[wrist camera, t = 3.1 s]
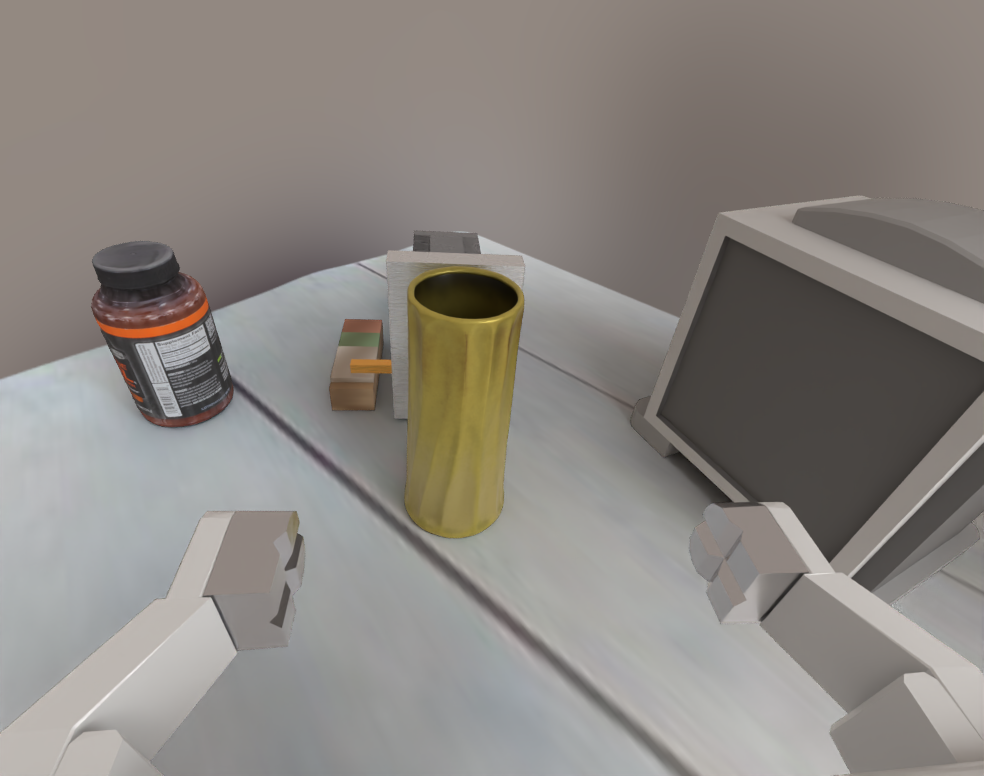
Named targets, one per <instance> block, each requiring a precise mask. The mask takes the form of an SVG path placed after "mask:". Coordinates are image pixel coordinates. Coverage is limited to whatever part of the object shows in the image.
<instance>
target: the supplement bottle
mask: <svg viewBox="0 0 984 776" xmlns="http://www.w3.org/2000/svg"><path fill="white" fill-rule="evenodd" d="M92 263H93V266H94V268H95V271H96V274H97V276H98V280H99V281H100V283H101V288H100V289H99V290H97V292H96V293H95V294H94V297H93V299H92V303H91V304H92V305H91V308H92V311H93V314H94V316H95V318H96V321H97V323H98V324H99V326H100V328H101V332H102V334H103V336H104V338H105V340H106V342H107V344H108V346H109V349H110V351H111V352H112V354H113V356H114V359H115V360H116V363H117V364H118V367H119V369H120V371H121V373H122V375H123V377H124V380H125V382H126V384H127V386H128V388H129V390H130V392H131V394H132V397H133V399H134V401H135V403H136V405H137V407H138V408H139V410H140V411H141V413H142V415H143V416H144V417H145V418H146V419H147V420H148V421H150V422H152V423H154V424H156V425H159V426H166V427H184V426H190V425H194V424H198V423H200V422H203V421H206V420H208V419H211V418H212V417H214V416H215V415H217V414H218V413H220V412H222V410H224V409H225V407H226V406H227V405H228V404H229V403H230V401H231V399H232V396H233V385H232V379H231V376H230V373H229V370H228V366H227V363H226V360H225V357H224V353H223V350H222V346H221V343H220V340H219V336H218V333H217V330H216V327H215V323H214V320H213V317H212V314H211V310H210V307H209V304H208V301H207V298H206V295H205V293H204V291H203V288H202V286H201V285H200V284H199V283H198V282H197V281H196V280H195V279H194V278H192V277H191V276H188V275H186V274H183V273H180V272H179V269H180V267H179V264H178V263H177V261H176V258H175V255H174V252H173V250H172V249H171V248H170V247H169V246H167V245H165V244H162V243H158V242H150V241H135V242H128V243H122V244H118V245H114V246H111V247H107V248H105V249H102V250H101V251H99V252H98V253H97V254H95V256H94V257H93V259H92Z"/></svg>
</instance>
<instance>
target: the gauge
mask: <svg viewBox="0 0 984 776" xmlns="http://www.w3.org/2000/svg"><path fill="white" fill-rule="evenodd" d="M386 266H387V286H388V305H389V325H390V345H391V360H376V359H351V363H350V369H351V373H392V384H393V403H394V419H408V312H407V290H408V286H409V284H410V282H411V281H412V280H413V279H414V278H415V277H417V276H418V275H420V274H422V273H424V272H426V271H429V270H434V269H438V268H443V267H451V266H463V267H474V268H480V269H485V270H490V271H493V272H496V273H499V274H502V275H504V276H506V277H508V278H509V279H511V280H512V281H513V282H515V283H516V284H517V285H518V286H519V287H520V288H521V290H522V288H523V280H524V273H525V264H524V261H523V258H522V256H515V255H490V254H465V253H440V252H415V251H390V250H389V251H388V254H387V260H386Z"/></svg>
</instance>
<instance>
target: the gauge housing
mask: <svg viewBox="0 0 984 776" xmlns="http://www.w3.org/2000/svg"><path fill="white" fill-rule="evenodd" d="M413 251H415V252H440V253H465V254H481V252H480V246H479V241H478V236H477V233H458V232H434V231H414V244H413Z"/></svg>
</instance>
